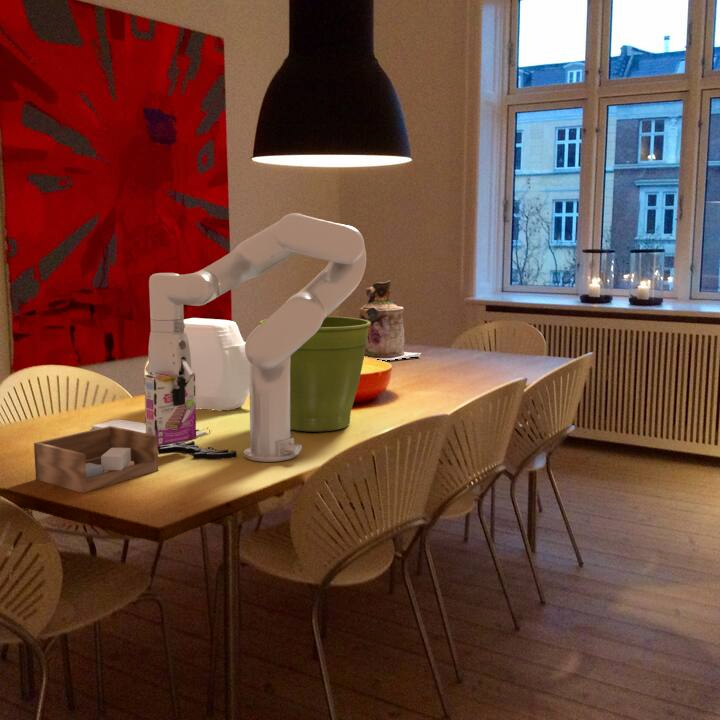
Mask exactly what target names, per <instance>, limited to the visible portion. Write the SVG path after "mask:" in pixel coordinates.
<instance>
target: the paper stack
mask: <svg viewBox="0 0 720 720" xmlns="http://www.w3.org/2000/svg"><path fill="white" fill-rule="evenodd" d="M184 324H185V328H184V333H186V334H187V337H188V342H189V348H190V356H191V371H192V372H194V373H195V405H196V408H201V409H214V410H227V411H233V410H235V409H238V408H241V407H242V406H244V405H245V403H246V402H247V398H248V396H249V395H250V362H249V361H248V359H247V357H246V354H245V343H246V341H244V338H243V337H242V335H241V333H240V328H239V326H238V325H237V323H236V322H235V321H232V320H229V319H228V320H227V319H215V318H200V317H191V318H190V317H189V318H185V319H184Z"/></svg>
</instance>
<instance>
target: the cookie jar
mask: <svg viewBox="0 0 720 720" xmlns="http://www.w3.org/2000/svg"><path fill="white" fill-rule="evenodd" d="M391 284H392V281H391V280H388V281H385V282H378V281H377V282H375V283H373V284H372V285H371V286H369V287H367V288H366V289H365V295H366V297H368V298H369V299H368V300H367V303H365V304H364V305H363V306H362V307H360V309H359V311H358V313H359V318H358V319H363V320H367V321H370V326H369V327H368V336H367V344H366V346H365V353H364V356H368V357H372V358H376V359H381V360H385V361H384V362H388V361H387V360H390V361H396V360H395V359H398V360H403V359H402V358H406V359H411V358H410V357H417V356H419V357H420V356H421V354H422V352H408V351H404V345H405V327H404V322H403V321H404V320H403V319H404V318H403V313H404V306H398V305H397V304H395V303H393V301H391V300H390V299H389V297H390V295H391V293H392V292H391ZM381 360H380V361H381Z"/></svg>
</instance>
